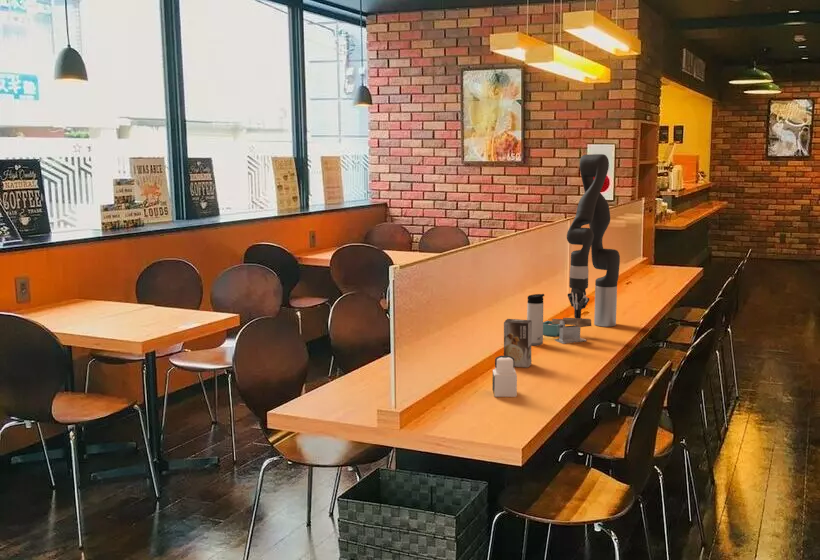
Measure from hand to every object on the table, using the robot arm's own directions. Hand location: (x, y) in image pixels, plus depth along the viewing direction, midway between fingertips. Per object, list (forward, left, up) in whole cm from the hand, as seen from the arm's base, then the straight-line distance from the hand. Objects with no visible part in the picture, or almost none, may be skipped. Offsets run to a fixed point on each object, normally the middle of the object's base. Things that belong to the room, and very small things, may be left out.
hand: (577, 318), depth 351 cm
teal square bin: (+3, -10, -7) cm, 13 cm away
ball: (+2, -12, -5) cm, 13 cm away
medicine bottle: (+91, +12, -8) cm, 92 cm away
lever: (+8, +4, -1) cm, 9 cm away
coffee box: (+56, 0, -8) cm, 56 cm away
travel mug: (+23, -8, -8) cm, 26 cm away
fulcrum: (+11, +2, -7) cm, 13 cm away
